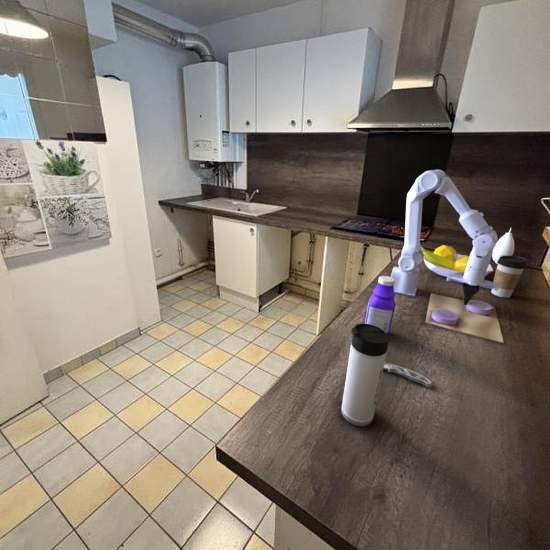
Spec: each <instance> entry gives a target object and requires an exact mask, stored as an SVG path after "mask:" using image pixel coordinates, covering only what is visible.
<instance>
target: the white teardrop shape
mask: <svg viewBox="0 0 550 550" xmlns="http://www.w3.org/2000/svg"><path fill="white" fill-rule="evenodd" d="M514 253H515V239H514V236H513V233H512V227H510V229H509V231H508V232H505V234H504V235H502V236H501V237H500V238H498V240H497V242H496V246H495V247H494V248H493V253H492V254H491V255H492V257H491V259H492V260H493V262H494V263H495V264H496V265H498V263H497V262H498V260H499V258H500V256H514Z"/></svg>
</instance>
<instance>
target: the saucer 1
mask: <svg viewBox="0 0 550 550" xmlns="http://www.w3.org/2000/svg"><path fill="white" fill-rule="evenodd" d="M431 317H432V318H433V319H434V320H435V321H437V322H439V323H442V324H446V325H454V324H456V323H457V320H458V315H457V314H456V313H454V312H452V311H450V310H447V309H442V308H437V309H434V310H433V311H432V315H431Z"/></svg>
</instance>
